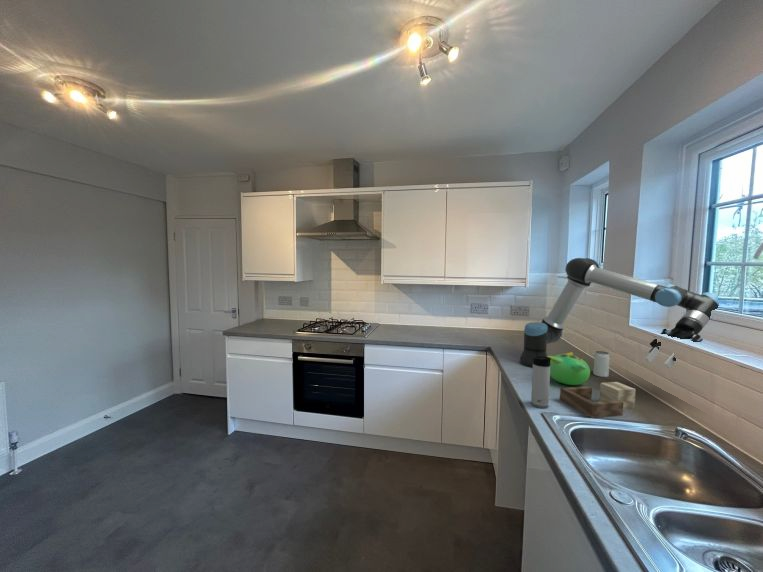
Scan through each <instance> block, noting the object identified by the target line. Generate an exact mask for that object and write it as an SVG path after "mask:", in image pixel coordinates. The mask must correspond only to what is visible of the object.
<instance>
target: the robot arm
mask: <svg viewBox="0 0 763 572" xmlns="http://www.w3.org/2000/svg"><path fill="white" fill-rule="evenodd" d="M565 273H566V278H567V283H566V284H565V285H564V288H563V290H562V291H561V293H560V295H559V296H558V298H557V300H556V301H555V303H554V305H553V306H552V308H551V311H550V312H549V313H548V315H547V316H544V317H543V318H542V320H541V322H539V321H537V322H536V321H535V322H528V323H526V324H525V325H524V329H523V337H524V338H523V351H522V353H521V355H520V358H519V364H521V365H523V366H526V367H529V368H533V357H537V356H543V357H547V356H548V353H547V349H548V348H547V346H548V344H552V343H556V342H558V341H559V340H560V339H562V336H563V330H564V328H565V326H564V323H565V321H566V319H567V317H568V316H569V314H570V312H571V311H572V309H573V308H574V307H575V304H576V303H577V301H578V300H579V298H580V296H581V295H582V294H583V291H584V289H586V288H589V287H590V286H591V285H592V283H593V284H597V285H598V286H603V287H606V288H608V289H612V290H615V291H619V292H622V293H625V294H628V295H631V296H634V297H638V298H641V299H645V300H648V301H650V302H653V303H657V304H658V305H659V306H662V307H667V308H670V307H675V306H677V307H680V308H684V309H685V310H687V311H686V312H685V313H684V314H683V315H682V317H681V318H680V319H679V320H678V321H677V322H676V324H675V326H674V328H672V329H667V328H663V329H662V331H661V333H660V334H667V335H668V336H671V337H672V338H673V337H677V338H680V339H690V341H693V342H700V343H701V342H702V341H703V340H704V339H703V337H702V336H701V335H700V334H699V333H701V331H702V330H703V329H704V328H705V327H706V325H707V324H708V323H709V322H710V321H711V320H710V316H711V311H712V310H715V309H717V308H718V306H719V303H718V296H717V295H718V294H717V293H714V292H708V291H707V292H706V291H705V292H703V293H702V294H699V293H697V292H693V291H690V290H689V289H688V290H687V289H685V288H682V287H681V286H678V285H674V284H672V283H666V284H665V285H662V284H661V285H660V284H657V283H653V282H652V281H651V282H650V281H647V280H643V279H640V278H636V277H633V276H629V275H625V274H621V273H618V272H614V271H611V270H608V269H603V268H601V264H600V263H599V262H598V261H597V260H595V259H593V258H588V257H585V258H584V257H577V258H573V259H572V258H571V259H570V260H569V261H568V262H567V263H566V265H565ZM709 320H710V321H709ZM708 321H709V322H708ZM649 345H650V347H651V349H650V350H649V351H648V354H647V355H646V357H645V359H646V361H647V362H648V363H650V364H651V363H652V362H653V360H655V358H657V356H658V355H659V353H660V352H661V351H660V350H659V347H658V346H661V342H658V343H657V339H655V338H654V339H652V341H651V342H650V343H649ZM674 356H675V354H674V352H673V353H672V354H671V355H670V356H669V357H668V358H667V360H666V361H664V366H666V368H667V369H671V368H672V366H674V364H675V363H674V361H676V358H675V357H674Z"/></svg>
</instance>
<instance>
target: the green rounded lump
mask: <svg viewBox="0 0 763 572" xmlns="http://www.w3.org/2000/svg"><path fill="white" fill-rule="evenodd" d="M547 357H549V358H551V360H550V378H552V379H553V380H554V381H556V382H558V383H559V384H563V385H567V386H578V385H582V384H585V383H586V382H587V381H588V380H589V378H590V376H591V367H590V366H589V364H588V363H587V362H586V361H585V360H583V359H582V358H581V357H579V356H576V355H574V352H571V351H570V352H566V353H559V354H554V355H547Z"/></svg>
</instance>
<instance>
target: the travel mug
mask: <svg viewBox="0 0 763 572" xmlns="http://www.w3.org/2000/svg"><path fill="white" fill-rule="evenodd" d="M550 360H551V358H549V357H543V356H537V357H533V367H532V373H531V374H532V377H531V393H530V394H531V396H530V404H531V405H532V406H533V407H534V408H539V409H547V408H549V400H550V383H551V382H550V380H551V376H550Z"/></svg>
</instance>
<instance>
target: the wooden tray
mask: <svg viewBox="0 0 763 572" xmlns="http://www.w3.org/2000/svg"><path fill="white" fill-rule="evenodd" d="M592 393H593V388H592V387H591V386H588V385H587V386H572V387H571V386H570V387H560V390H559V400H560V401H561V402H563V403H565V404H567V405H568V406H570V407H572V408H573V409H575V410H577V411H579V412H580V413H583V414H585V415H586V416H587V417H590V418H591V419H593V418H594V419H596V418H608V417H618V416H623V414H624V410H623V402H622V401H619V400H614V401H601V402H600V401H591V400H592V395H593V394H592Z"/></svg>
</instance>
